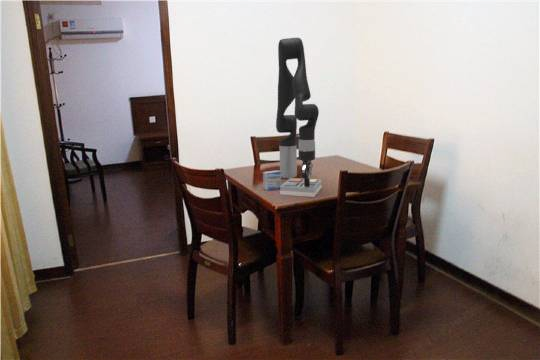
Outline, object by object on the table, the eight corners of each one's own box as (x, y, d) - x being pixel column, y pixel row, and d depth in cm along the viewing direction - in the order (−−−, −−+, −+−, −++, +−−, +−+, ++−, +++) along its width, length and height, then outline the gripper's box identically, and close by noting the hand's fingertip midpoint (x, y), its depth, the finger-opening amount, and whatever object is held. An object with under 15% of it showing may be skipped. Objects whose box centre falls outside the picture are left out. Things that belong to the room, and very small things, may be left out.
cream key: (307, 182, 196) (307, 178, 195) (317, 182, 194) (317, 179, 194) (304, 184, 191) (304, 181, 191) (314, 185, 190) (314, 182, 189)
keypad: (290, 185, 201) (290, 178, 200) (321, 187, 196) (321, 179, 195) (280, 194, 187) (280, 186, 186) (314, 197, 181) (314, 188, 180)
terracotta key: (292, 181, 198) (292, 178, 198) (302, 182, 197) (302, 178, 196) (289, 184, 194) (289, 180, 193) (299, 184, 192) (299, 181, 192)
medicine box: (266, 190, 194) (266, 173, 191) (263, 188, 198) (262, 171, 195) (281, 188, 197) (281, 171, 194) (277, 186, 201) (277, 169, 198)
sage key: (303, 187, 189) (303, 184, 189) (313, 188, 188) (313, 185, 187) (300, 190, 185) (300, 187, 184) (311, 191, 183) (311, 187, 183)
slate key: (288, 185, 191) (288, 181, 191) (298, 185, 190) (298, 182, 189) (285, 188, 187) (284, 184, 186) (295, 188, 185) (295, 185, 185)
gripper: (302, 146, 189) (302, 182, 193) (294, 151, 177) (295, 189, 181) (318, 146, 186) (318, 183, 190) (311, 151, 174) (311, 190, 178)
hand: (307, 186), depth 186 cm, fingers closed
